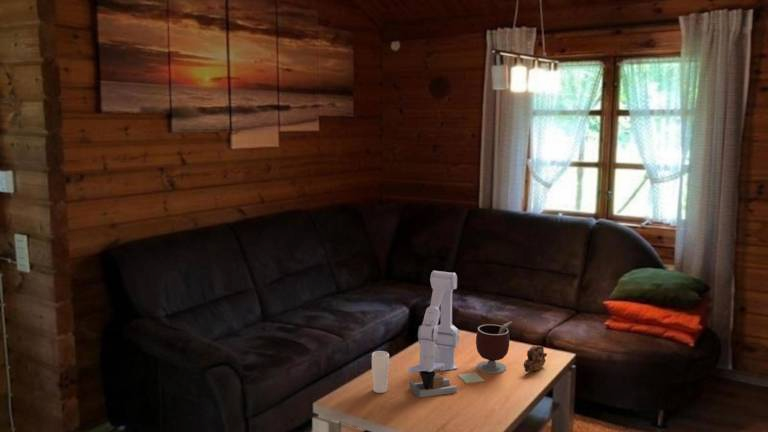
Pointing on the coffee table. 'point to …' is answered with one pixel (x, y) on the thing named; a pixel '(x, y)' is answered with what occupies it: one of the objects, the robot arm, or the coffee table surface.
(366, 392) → the coffee table surface
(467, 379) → the pad
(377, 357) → the drinking glass
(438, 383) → the block
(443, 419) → the coffee table surface
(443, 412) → the coffee table surface
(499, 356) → the mate gourd
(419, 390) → the channel
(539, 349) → the wooden carving
